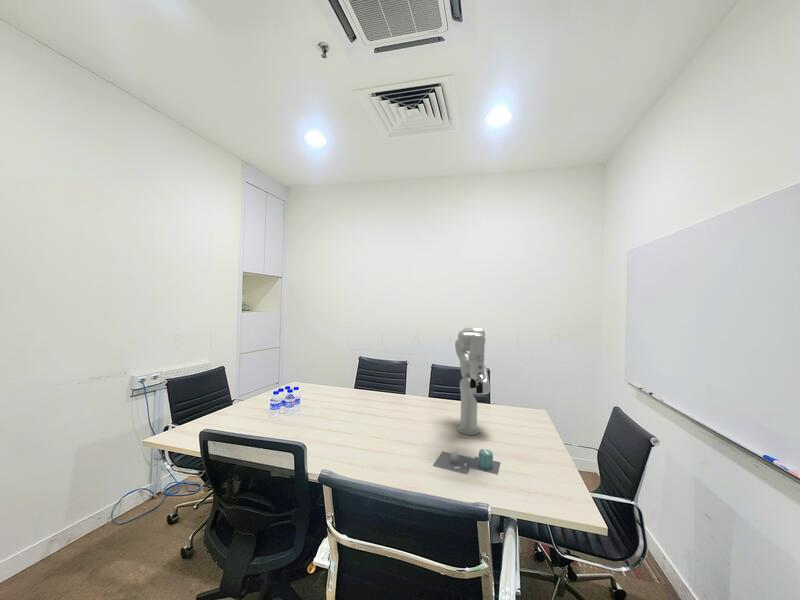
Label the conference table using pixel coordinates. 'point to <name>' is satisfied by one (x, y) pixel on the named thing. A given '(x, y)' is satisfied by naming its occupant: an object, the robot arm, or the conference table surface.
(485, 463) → the cap
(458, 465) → the post plate
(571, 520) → the conference table surface
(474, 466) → the mat
